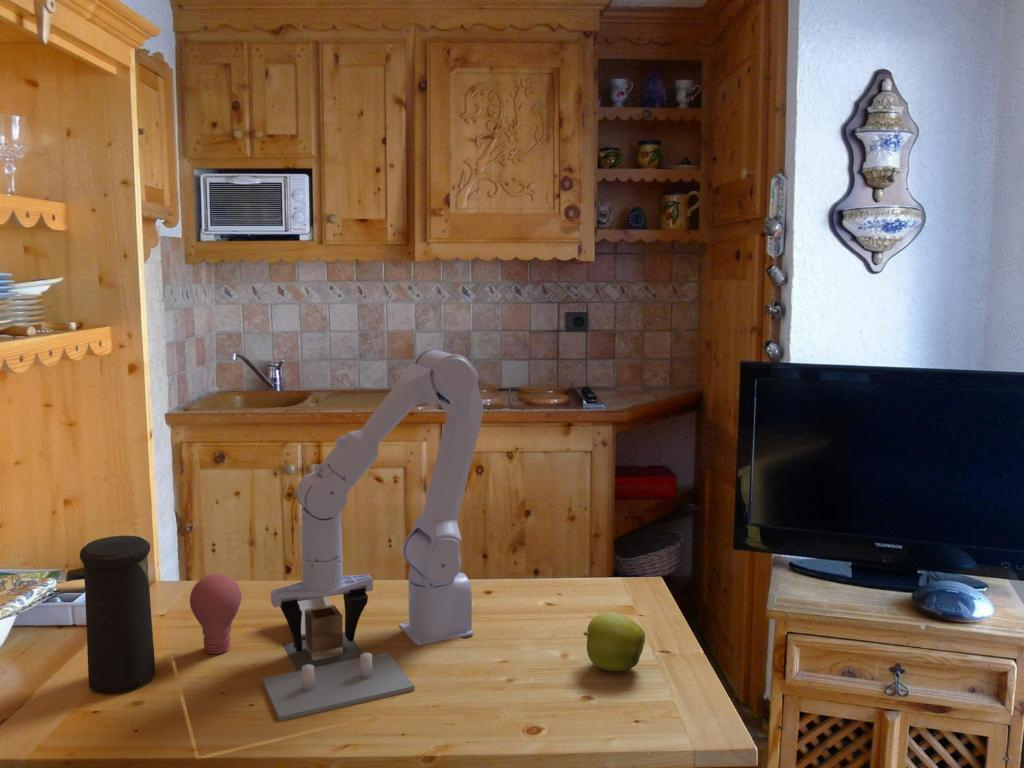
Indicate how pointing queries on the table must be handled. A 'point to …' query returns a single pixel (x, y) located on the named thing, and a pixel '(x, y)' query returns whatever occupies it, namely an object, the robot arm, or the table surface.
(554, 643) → the table surface
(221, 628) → the light bulb
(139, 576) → the container
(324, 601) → the feeder chute
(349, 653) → the mat
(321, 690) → the pin board
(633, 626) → the apple
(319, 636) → the sleeve
